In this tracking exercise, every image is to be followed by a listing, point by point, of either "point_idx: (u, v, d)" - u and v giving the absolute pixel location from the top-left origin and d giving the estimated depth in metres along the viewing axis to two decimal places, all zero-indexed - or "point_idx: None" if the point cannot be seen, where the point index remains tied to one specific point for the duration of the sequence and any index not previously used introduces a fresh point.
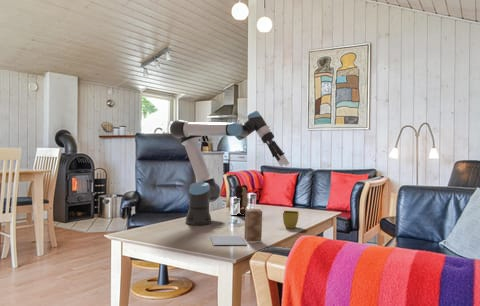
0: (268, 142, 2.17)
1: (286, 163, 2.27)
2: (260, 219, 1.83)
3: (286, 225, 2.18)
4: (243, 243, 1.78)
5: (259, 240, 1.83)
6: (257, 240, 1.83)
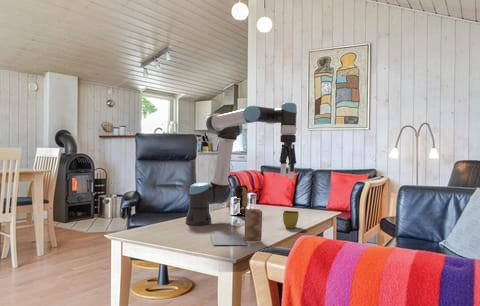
0: (292, 146, 1.82)
1: (283, 174, 1.95)
2: (260, 219, 1.83)
3: (286, 225, 2.18)
4: (243, 243, 1.78)
5: (259, 240, 1.83)
6: (257, 240, 1.83)
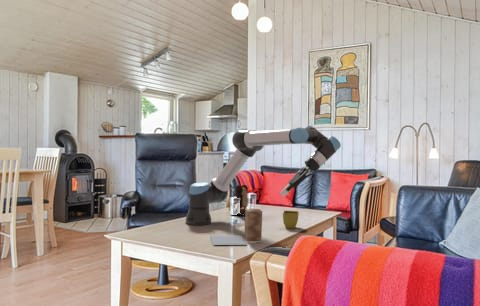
0: (307, 174, 1.83)
1: None
2: (260, 219, 1.83)
3: (286, 225, 2.18)
4: (243, 243, 1.78)
5: (259, 240, 1.83)
6: (257, 240, 1.83)
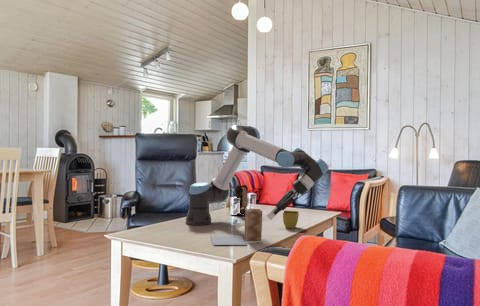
0: (294, 198, 1.83)
1: None
2: (260, 219, 1.83)
3: (286, 225, 2.18)
4: (243, 243, 1.78)
5: (259, 240, 1.83)
6: (257, 240, 1.83)
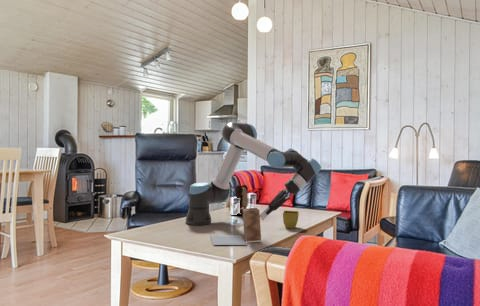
0: (286, 198, 1.81)
1: None
2: (258, 218, 1.82)
3: (286, 225, 2.18)
4: (243, 243, 1.78)
5: (259, 239, 1.83)
6: (257, 239, 1.83)
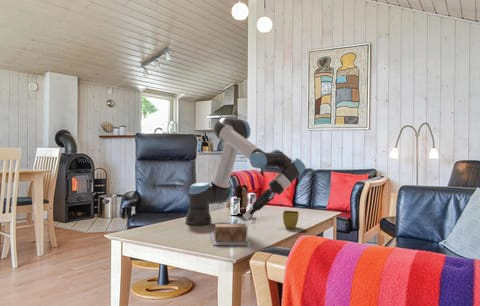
0: (270, 198, 1.80)
1: None
2: (224, 228, 1.80)
3: (286, 225, 2.18)
4: (243, 243, 1.78)
5: (245, 228, 1.82)
6: (245, 230, 1.82)
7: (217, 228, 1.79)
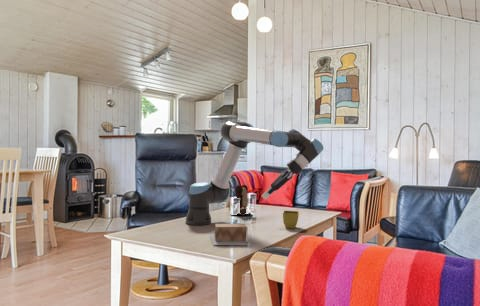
0: (289, 177, 1.82)
1: None
2: (224, 228, 1.80)
3: (286, 225, 2.18)
4: (243, 243, 1.78)
5: (245, 228, 1.82)
6: (245, 230, 1.82)
7: (217, 228, 1.79)
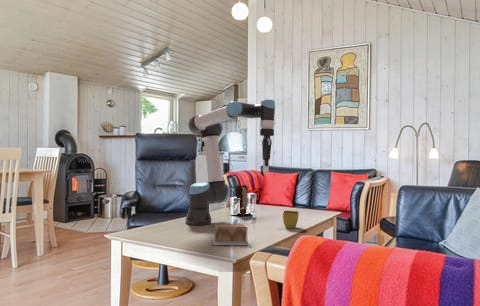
0: (269, 143, 2.01)
1: None
2: (224, 228, 1.80)
3: (286, 225, 2.18)
4: (243, 243, 1.78)
5: (245, 228, 1.82)
6: (245, 230, 1.82)
7: (217, 228, 1.79)
